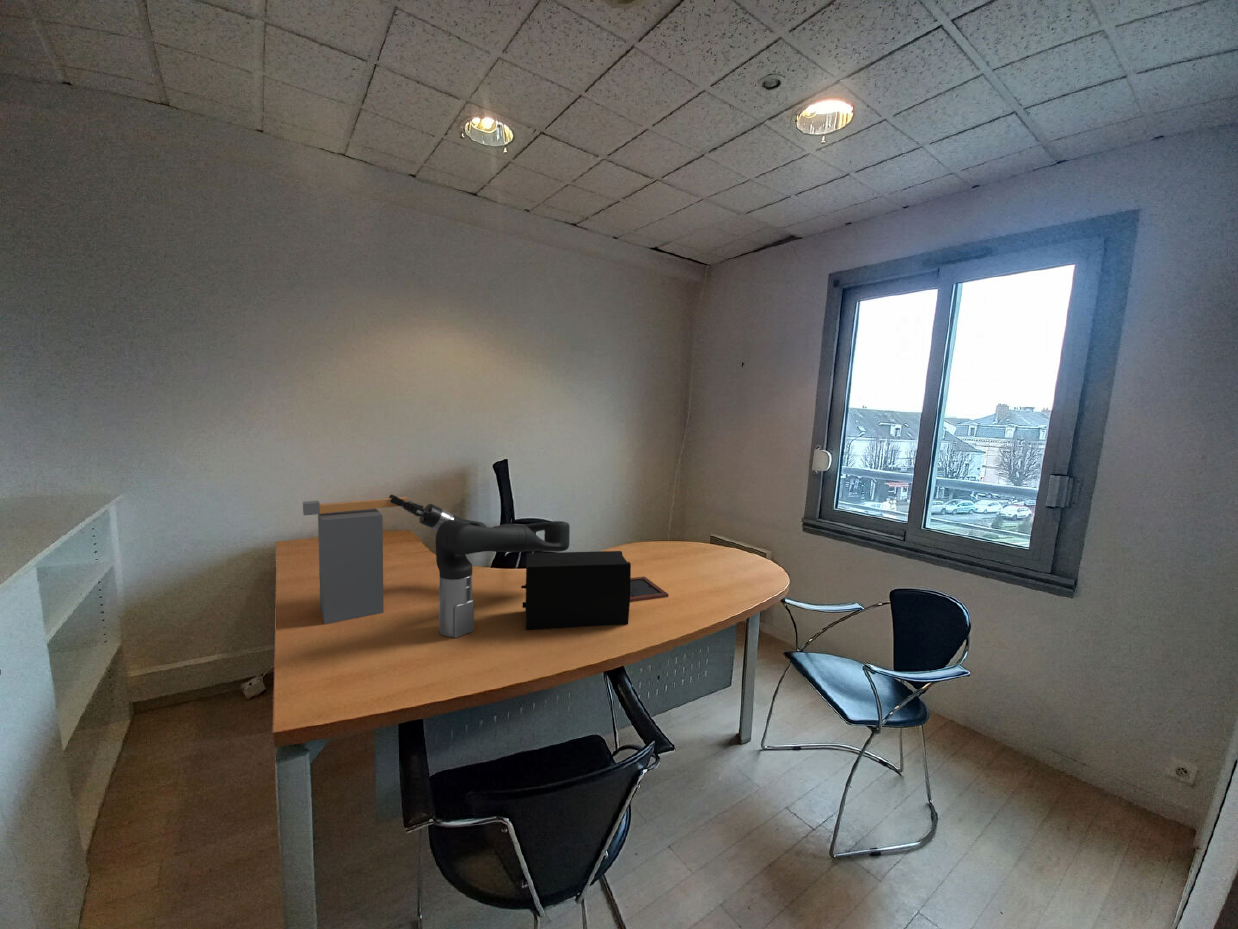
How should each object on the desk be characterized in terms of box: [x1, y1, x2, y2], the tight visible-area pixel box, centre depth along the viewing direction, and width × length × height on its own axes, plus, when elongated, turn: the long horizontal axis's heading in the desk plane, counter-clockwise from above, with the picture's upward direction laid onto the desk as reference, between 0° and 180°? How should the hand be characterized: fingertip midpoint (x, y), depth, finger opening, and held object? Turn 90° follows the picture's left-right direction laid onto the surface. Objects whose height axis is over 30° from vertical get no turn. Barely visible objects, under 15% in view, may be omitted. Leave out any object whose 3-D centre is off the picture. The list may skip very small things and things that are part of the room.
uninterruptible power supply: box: [520, 550, 632, 632], centre depth 146 cm, size 16×34×20 cm, turn 102°
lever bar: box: [302, 496, 409, 516], centre depth 145 cm, size 29×4×4 cm, turn 128°
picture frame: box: [630, 576, 670, 603], centre depth 172 cm, size 20×2×25 cm
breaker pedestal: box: [317, 508, 385, 625], centre depth 145 cm, size 16×16×32 cm
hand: (390, 498), depth 150 cm, fingers closed on lever bar, 3 cm apart
